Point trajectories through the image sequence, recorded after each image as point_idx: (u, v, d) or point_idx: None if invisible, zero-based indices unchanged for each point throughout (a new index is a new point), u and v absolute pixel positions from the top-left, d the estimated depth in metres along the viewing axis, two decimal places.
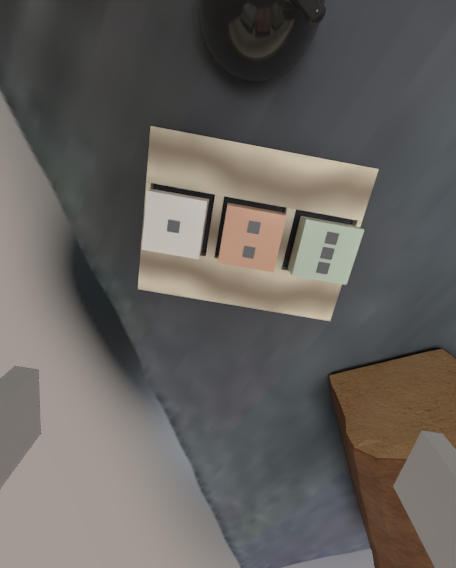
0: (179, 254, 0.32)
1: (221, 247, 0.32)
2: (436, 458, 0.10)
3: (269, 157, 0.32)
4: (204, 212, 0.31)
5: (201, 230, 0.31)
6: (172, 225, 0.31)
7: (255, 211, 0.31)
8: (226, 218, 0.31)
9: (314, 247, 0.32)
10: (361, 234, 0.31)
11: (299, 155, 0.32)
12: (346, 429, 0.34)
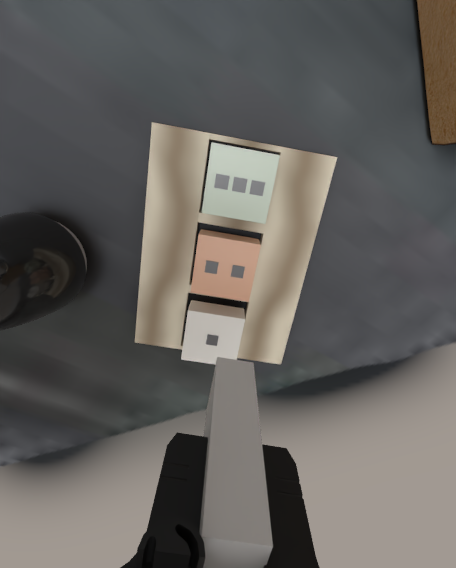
0: (239, 336, 0.33)
1: (232, 298, 0.31)
2: (234, 378, 0.12)
3: (150, 242, 0.33)
4: (198, 313, 0.32)
5: (215, 316, 0.32)
6: (211, 340, 0.33)
7: (195, 265, 0.30)
8: (203, 293, 0.31)
9: (232, 200, 0.28)
10: (216, 145, 0.27)
11: (146, 213, 0.32)
12: None
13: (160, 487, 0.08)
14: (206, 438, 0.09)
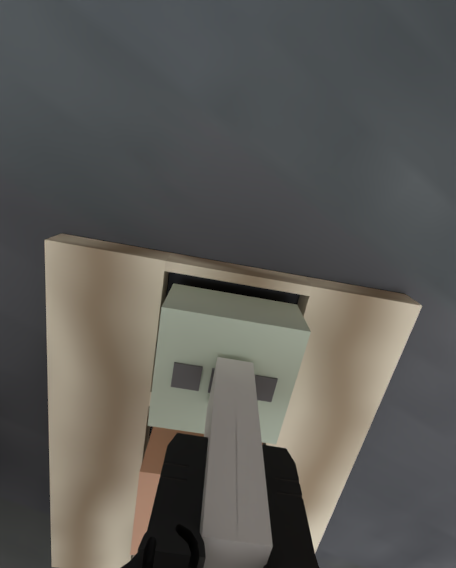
0: None
1: None
2: (234, 378, 0.12)
3: (63, 435, 0.18)
4: None
5: None
6: None
7: (136, 518, 0.15)
8: None
9: None
10: (172, 312, 0.12)
11: (50, 391, 0.17)
12: None
13: (160, 487, 0.08)
14: (206, 438, 0.09)
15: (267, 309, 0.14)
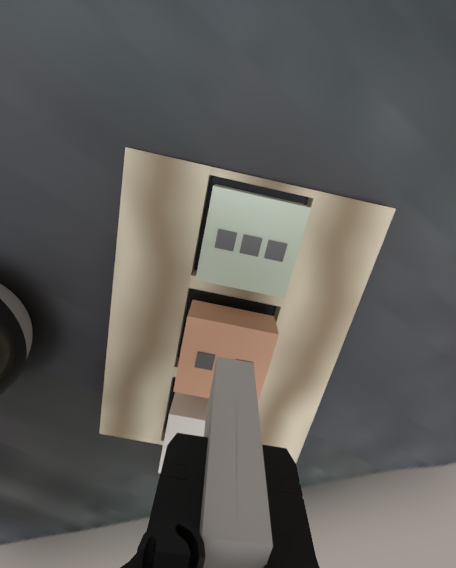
0: None
1: None
2: (234, 378, 0.12)
3: (121, 311, 0.23)
4: (183, 418, 0.22)
5: None
6: None
7: (181, 357, 0.21)
8: (191, 393, 0.22)
9: (239, 265, 0.20)
10: (220, 190, 0.18)
11: (115, 272, 0.22)
12: None
13: (160, 487, 0.08)
14: (206, 438, 0.09)
15: (281, 199, 0.20)
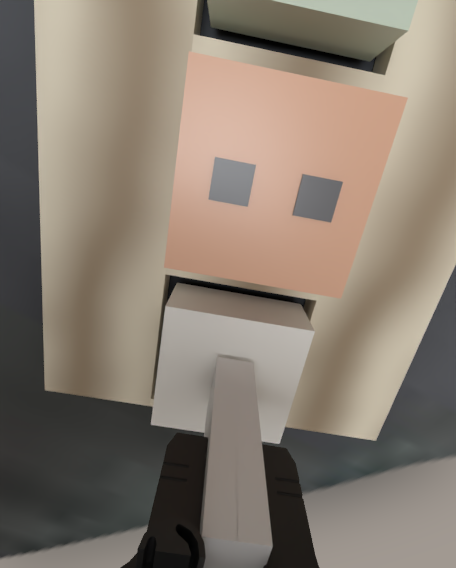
0: (297, 373, 0.13)
1: (293, 286, 0.10)
2: (234, 377, 0.12)
3: (59, 132, 0.12)
4: (192, 313, 0.12)
5: (238, 322, 0.12)
6: None
7: (178, 177, 0.09)
8: (203, 270, 0.10)
9: None
10: None
11: (38, 35, 0.11)
12: None
13: (160, 487, 0.08)
14: (206, 438, 0.09)
15: None
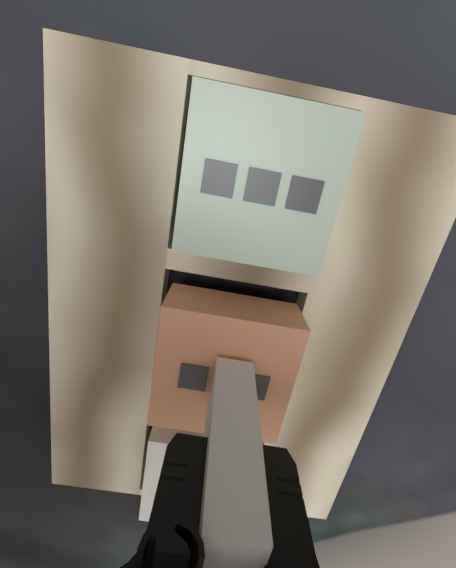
0: None
1: None
2: (234, 378, 0.12)
3: (65, 309, 0.15)
4: None
5: None
6: None
7: (156, 373, 0.13)
8: (175, 427, 0.14)
9: (244, 223, 0.12)
10: (205, 84, 0.10)
11: (49, 248, 0.14)
12: None
13: (160, 487, 0.08)
14: (206, 438, 0.09)
15: None
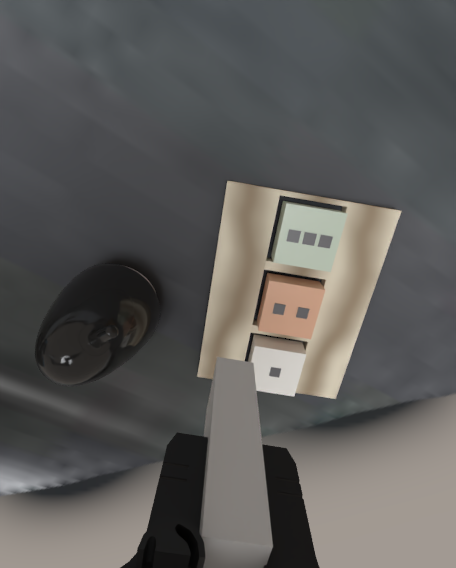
0: (300, 369, 0.36)
1: (296, 335, 0.35)
2: (234, 378, 0.12)
3: (218, 287, 0.35)
4: (264, 348, 0.35)
5: (279, 351, 0.35)
6: (274, 372, 0.36)
7: (264, 307, 0.34)
8: (269, 331, 0.34)
9: (302, 252, 0.31)
10: (290, 205, 0.30)
11: (216, 261, 0.34)
12: None
13: (160, 487, 0.08)
14: (206, 438, 0.09)
15: (327, 209, 0.31)
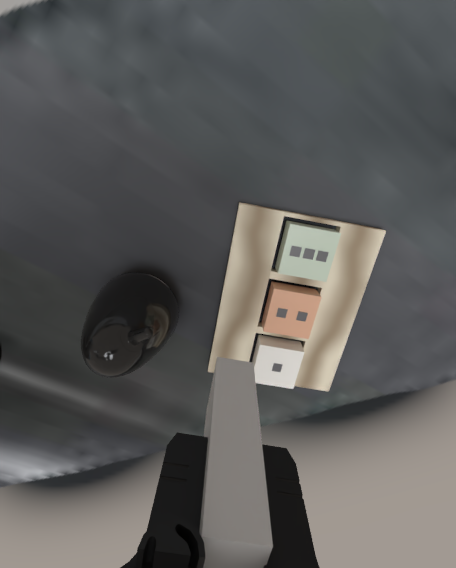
0: (299, 365, 0.41)
1: (296, 336, 0.40)
2: (234, 378, 0.12)
3: (229, 293, 0.40)
4: (268, 346, 0.41)
5: (281, 349, 0.41)
6: (276, 367, 0.42)
7: (269, 311, 0.39)
8: (273, 332, 0.40)
9: (302, 264, 0.37)
10: (293, 225, 0.35)
11: (227, 271, 0.39)
12: None
13: (160, 487, 0.08)
14: (206, 438, 0.09)
15: (324, 228, 0.37)
